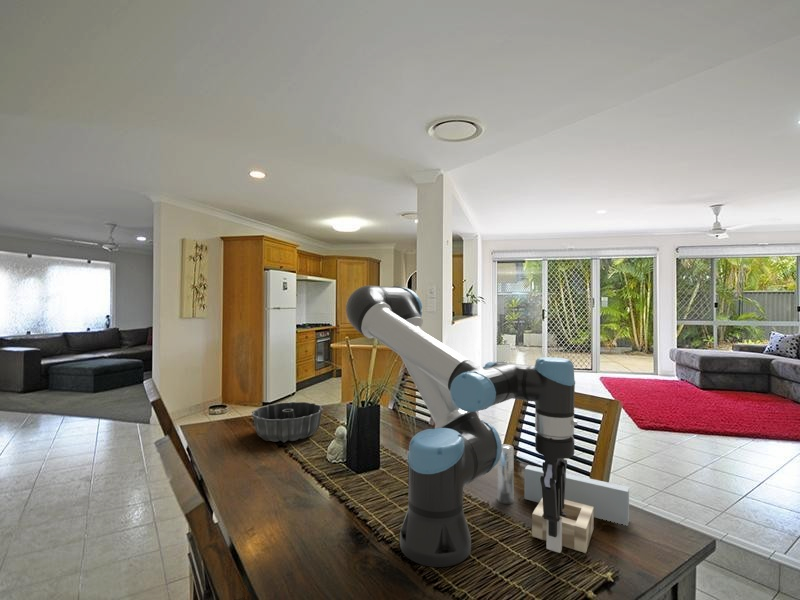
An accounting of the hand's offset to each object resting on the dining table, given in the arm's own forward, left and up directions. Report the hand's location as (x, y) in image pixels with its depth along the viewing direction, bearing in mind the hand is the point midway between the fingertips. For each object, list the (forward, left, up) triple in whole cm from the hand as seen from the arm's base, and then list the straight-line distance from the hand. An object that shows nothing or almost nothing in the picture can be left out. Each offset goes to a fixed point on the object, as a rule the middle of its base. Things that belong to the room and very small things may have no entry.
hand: (554, 548), depth 84 cm
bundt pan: (+22, +103, -2) cm, 105 cm away
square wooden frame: (+10, 0, -2) cm, 10 cm away
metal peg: (+18, +16, -2) cm, 24 cm away
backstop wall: (+23, 0, -2) cm, 23 cm away
